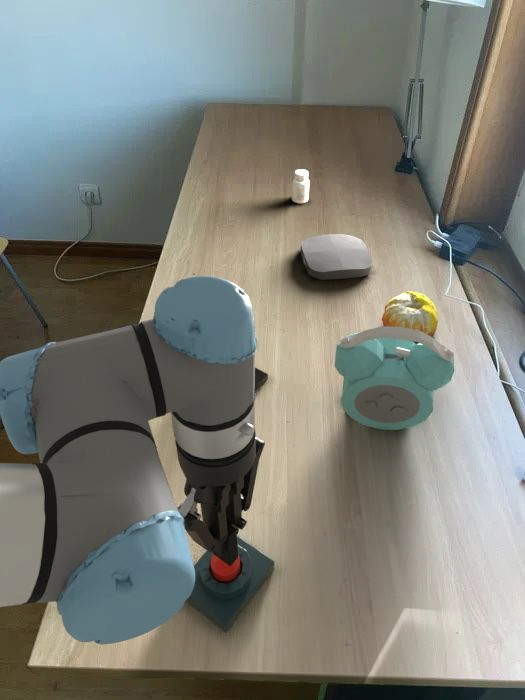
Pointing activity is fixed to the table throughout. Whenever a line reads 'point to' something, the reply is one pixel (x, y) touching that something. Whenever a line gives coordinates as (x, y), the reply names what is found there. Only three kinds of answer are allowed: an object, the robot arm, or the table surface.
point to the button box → (229, 586)
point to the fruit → (411, 313)
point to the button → (224, 569)
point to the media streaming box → (335, 256)
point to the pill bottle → (300, 186)
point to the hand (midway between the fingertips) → (225, 555)
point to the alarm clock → (391, 376)
